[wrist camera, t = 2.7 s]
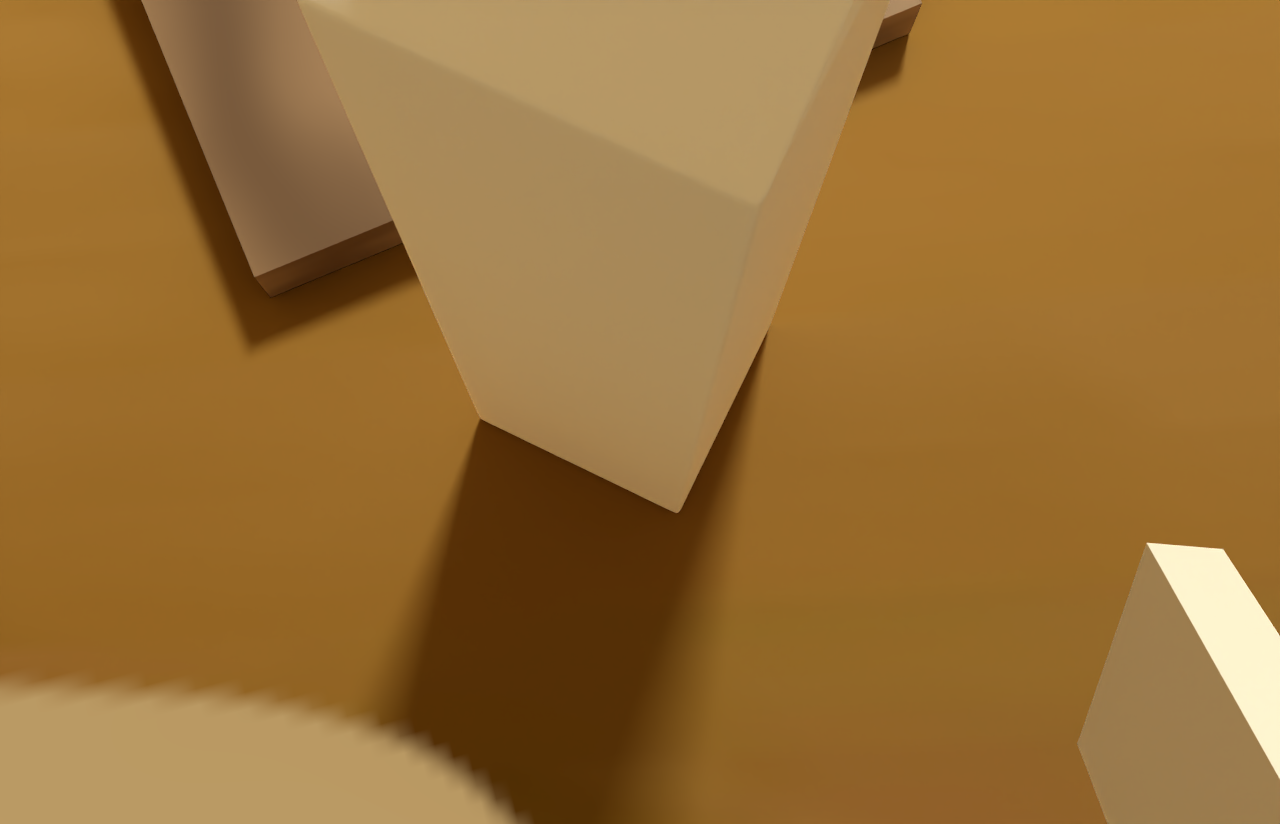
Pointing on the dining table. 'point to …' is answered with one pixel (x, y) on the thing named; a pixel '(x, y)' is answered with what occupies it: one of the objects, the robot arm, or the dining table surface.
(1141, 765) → the robot arm
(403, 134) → the milk
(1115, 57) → the dining table surface
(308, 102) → the tan board
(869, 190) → the dining table surface
